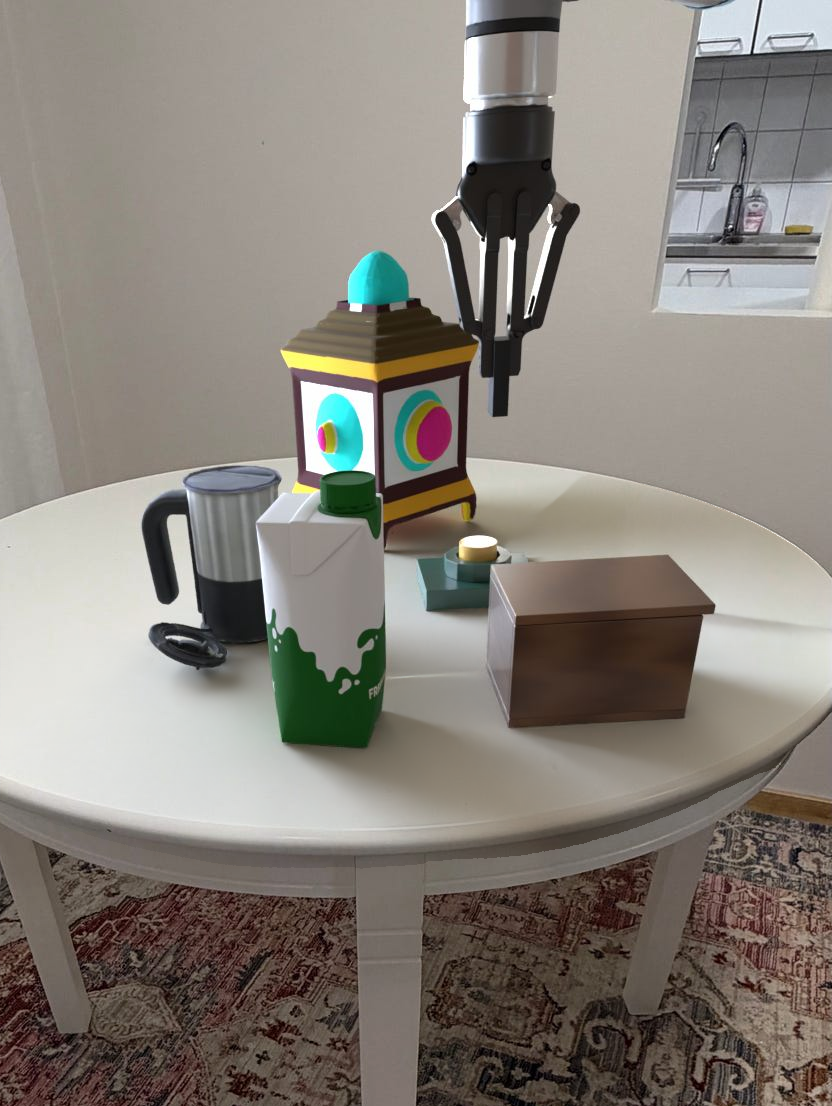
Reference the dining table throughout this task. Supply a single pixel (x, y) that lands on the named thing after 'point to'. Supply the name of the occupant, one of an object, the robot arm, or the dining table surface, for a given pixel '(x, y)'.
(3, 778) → the dining table surface
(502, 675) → the chest
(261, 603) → the milk frother
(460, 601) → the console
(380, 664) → the milk carton
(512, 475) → the dining table surface
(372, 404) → the decorative lantern
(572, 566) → the chest lid
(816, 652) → the dining table surface
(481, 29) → the robot arm
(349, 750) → the dining table surface
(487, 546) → the button
